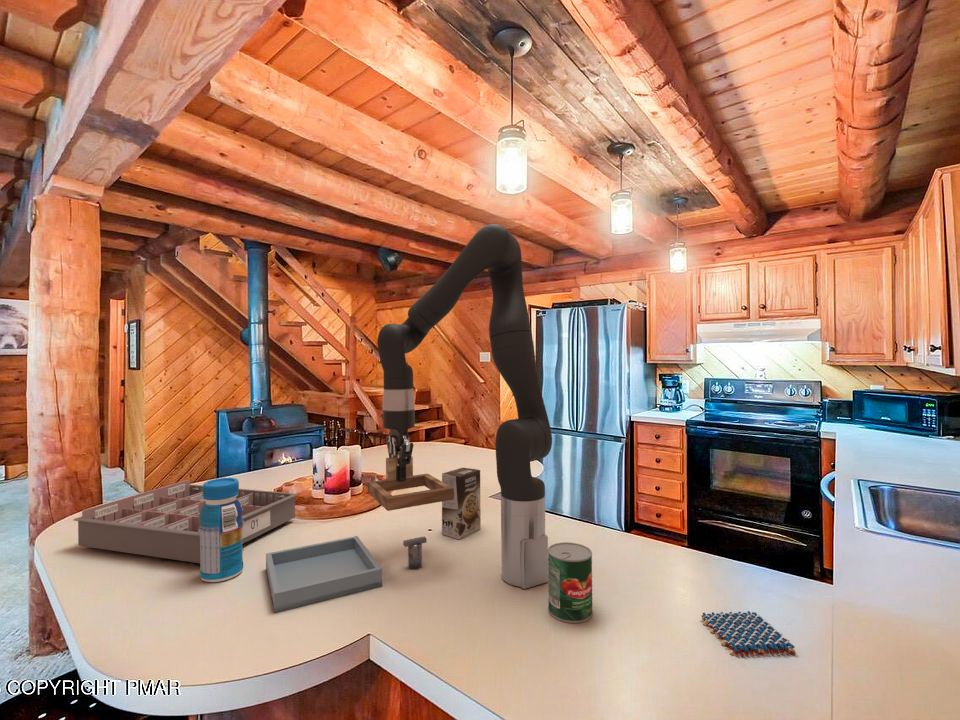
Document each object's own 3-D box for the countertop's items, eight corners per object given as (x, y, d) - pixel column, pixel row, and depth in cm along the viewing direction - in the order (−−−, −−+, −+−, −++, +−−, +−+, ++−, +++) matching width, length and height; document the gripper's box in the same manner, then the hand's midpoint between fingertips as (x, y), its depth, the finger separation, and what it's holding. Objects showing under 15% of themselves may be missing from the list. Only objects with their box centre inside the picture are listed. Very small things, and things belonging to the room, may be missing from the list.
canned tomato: (561, 595, 90) (561, 538, 90) (600, 609, 85) (599, 549, 85) (539, 613, 83) (539, 552, 83) (579, 629, 78) (579, 564, 78)
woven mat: (755, 620, 82) (755, 608, 82) (799, 659, 71) (799, 645, 71) (697, 621, 81) (697, 610, 81) (732, 661, 71) (732, 648, 71)
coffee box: (460, 540, 117) (459, 476, 117) (441, 534, 121) (440, 472, 121) (481, 529, 124) (481, 469, 124) (463, 524, 128) (462, 466, 128)
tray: (382, 586, 94) (381, 568, 94) (274, 613, 84) (274, 593, 84) (357, 550, 111) (357, 535, 111) (266, 569, 102) (265, 553, 102)
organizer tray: (203, 572, 101) (202, 526, 101) (72, 552, 112) (72, 511, 112) (299, 521, 132) (298, 486, 132) (189, 509, 143) (188, 477, 143)
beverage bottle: (192, 586, 94) (191, 488, 94) (206, 567, 103) (205, 477, 102) (238, 581, 96) (237, 485, 96) (248, 563, 105) (247, 475, 104)
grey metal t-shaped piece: (428, 566, 102) (428, 539, 102) (406, 571, 100) (406, 544, 100) (423, 561, 105) (423, 534, 105) (402, 566, 103) (401, 539, 103)
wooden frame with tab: (453, 499, 102) (453, 465, 102) (387, 510, 95) (387, 474, 95) (427, 483, 115) (426, 453, 115) (367, 492, 108) (367, 460, 108)
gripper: (424, 409, 107) (425, 484, 107) (404, 404, 119) (404, 472, 119) (392, 411, 103) (393, 489, 103) (375, 406, 115) (375, 475, 115)
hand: (399, 479), depth 111 cm, fingers closed on wooden frame with tab
